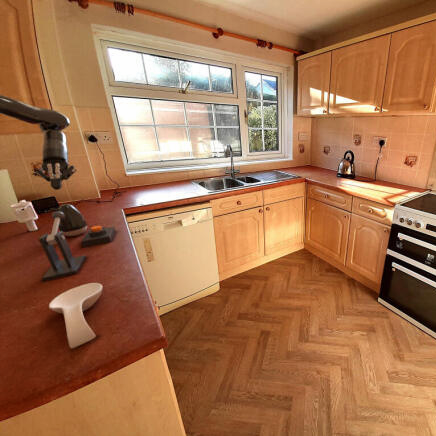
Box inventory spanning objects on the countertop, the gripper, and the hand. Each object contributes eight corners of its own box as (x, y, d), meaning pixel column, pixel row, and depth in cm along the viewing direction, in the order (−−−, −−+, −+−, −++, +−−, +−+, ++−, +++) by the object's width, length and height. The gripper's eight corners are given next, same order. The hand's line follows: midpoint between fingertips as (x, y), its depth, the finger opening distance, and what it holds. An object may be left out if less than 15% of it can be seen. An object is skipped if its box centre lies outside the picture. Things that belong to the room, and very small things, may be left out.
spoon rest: (54, 305, 71) (44, 284, 68) (103, 286, 78) (96, 268, 75) (52, 359, 54) (38, 335, 51) (115, 330, 61) (106, 308, 58)
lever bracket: (56, 263, 92) (40, 231, 87) (85, 257, 95) (72, 225, 90) (43, 281, 82) (24, 245, 77) (76, 273, 85) (61, 238, 80)
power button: (93, 230, 110) (92, 226, 109) (103, 228, 112) (101, 224, 111) (91, 233, 107) (90, 229, 106) (101, 231, 109) (100, 227, 108)
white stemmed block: (45, 225, 128) (32, 198, 122) (39, 230, 122) (25, 202, 116) (27, 228, 125) (13, 201, 119) (20, 234, 119) (5, 205, 113)
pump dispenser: (62, 234, 117) (48, 204, 111) (88, 227, 123) (77, 199, 118) (62, 241, 110) (48, 209, 104) (91, 233, 116) (79, 203, 111)
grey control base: (90, 236, 114) (86, 227, 112) (115, 231, 118) (112, 223, 116) (83, 247, 104) (79, 237, 102) (111, 241, 108) (107, 232, 106)
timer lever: (55, 216, 93) (50, 210, 90) (66, 215, 94) (62, 208, 92) (48, 246, 84) (42, 240, 81) (60, 244, 85) (55, 238, 83)
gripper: (28, 148, 94) (27, 185, 89) (71, 145, 100) (73, 180, 94) (40, 160, 101) (40, 196, 95) (79, 157, 106) (81, 191, 100)
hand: (56, 188), depth 95 cm, fingers closed
